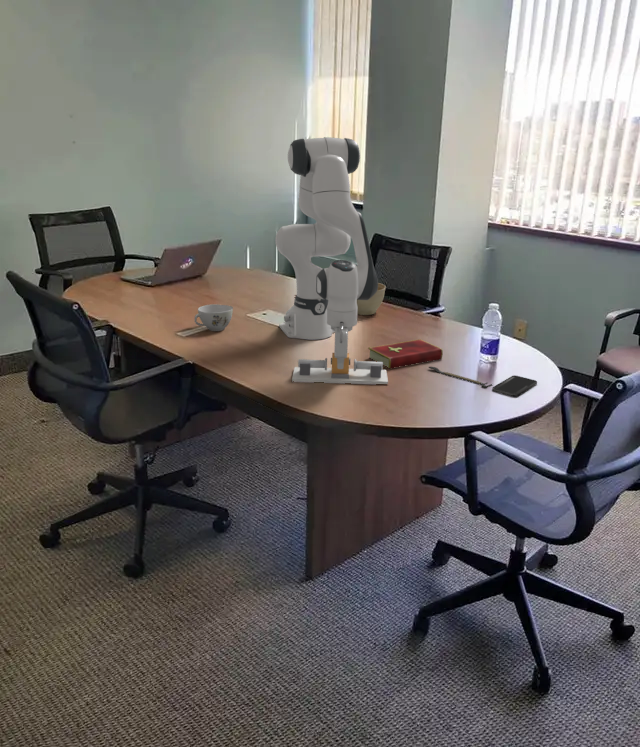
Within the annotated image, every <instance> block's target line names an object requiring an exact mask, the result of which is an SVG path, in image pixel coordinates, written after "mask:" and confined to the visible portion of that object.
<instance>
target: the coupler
mask: <svg viewBox="0 0 640 747" xmlns="http://www.w3.org/2000/svg"><path fill="white" fill-rule="evenodd" d="M330 365H331V368H332V373H335V374H349V369H350V366H351V358H350V352H347V358H344V368H343V369H338V368H337V358H335V356H334V352H332V355H331V358H330Z"/></svg>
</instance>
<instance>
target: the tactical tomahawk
mask: <svg viewBox="0 0 640 747" xmlns="http://www.w3.org/2000/svg"><path fill="white" fill-rule="evenodd" d="M428 369H431V370H433V371H435V372H436V373H437V374H440V373H441V375H444V374H445V376H447V375H448V376H447V377H451V376H453V377H452V378H454V377H456V378H455V379H458V378H459V379H458V380H462V379H463V380H462V381H465V380H467V381H466V382H469V381H470V382H469V383H472V382H473V384H477V385H479V384H480V385H479V386H481V388H483V389H487V388H490V387H493V385H492V384H493V383H490V384H488V382H485V383H483V382H481V381H479V380H475V379H472V378H469V377H465V376H461V375H458V374H454V373H451V372H448V371H447V372H445V371H441V370H440V369H439V368H438V367H435V366H428ZM485 384H486V385H485ZM487 384H488V385H487Z"/></svg>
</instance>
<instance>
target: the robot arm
mask: <svg viewBox="0 0 640 747" xmlns="http://www.w3.org/2000/svg"><path fill="white" fill-rule="evenodd" d="M360 161H361V151H360V147H359V144H358V143H357V141H356V140H354V139H351V138H348V137H344V138H339V137H329V136H327V137H326V136H324V137H315V138H314V137H313V138H306V139H304V138H298V139H294V140H293V141H291V143H290V145H289V148H288V152H287V162H288V165H289V168H290V170H291V171H292V172H293V173H294V174H295V175H298V176H300V178H299V192H298V193H299V194H298V206H299V209H300V211H301V212H302V213H303V214H304V215H306V217H309V218H310V219H313V220H315V223H294V224H293V223H292V224H289V225H283V226H281V227H280V228H279V229H278V230H277V232H276V234H275V241H274V243H275V246H276V249H277V250H278V251H277V252H279V253H280V255H282V256H284V257H285V258H286V259H287V261H288V262H289V263H290V264H291V267H292V268H293V270H294V274H295V279H296V280H295V281H296V294H294V295H293V296H294V301H293V302H294V303H293V306H291V307H290V308H289V309H287V311H286V312H285V315H284V316H283V321H284V322H281V323H279V326H278V327H279V328H280V329H281V331H282V332H283V333H284V334H285V336H287V338H290V339H301V340H310V341H311V340H313V341H314V340H322V339H323V340H324V339H328V338H330V337H331V336H332V335H333V333H334V352H333V353H334V356H335V358H337V368H338V369H343V368H344V358H347V353H348V346H349V345H348V344H349V338H348V337H349V332H351V331H353V327H355V326H357V324H358V314H357V310H358V307H357V302H356V301H357V300H369V299H370V298H371V297H372V296H373V295H374V294H375V293H376V292H377V290H378V283H379V281H378V280H379V279H378V276H377V273H376V272H377V271H376V269H375V266H374V262H373V257H372V251H371V246H370V243H369V242H370V241H369V236H368V232H367V229H366V224H365V221H364V218H363V216H362V213H361V212H359V211H358V210H356V208H355V206H354V204H353V201H352V197H351V187H350V177H349V176H350V174H352V173H355V172H356V170H358V168H359V165H360V163H361V162H360ZM351 241H352V243H353V250H354V255H355V260H356V263H355V262H353V261H351V260H350V261H349V260H345V259H338V260H334V261H332V262H330V265H329V267H325V268H322V267H321V266H318V265H316V264H314V263H313V262H312V258H314V257H315V258H317V257H318V258H320V257H321V258H322V257H336V256H341V255H345V254H346V253H347V252H348V251H349V249H350V246H351ZM356 264H357V265H356Z"/></svg>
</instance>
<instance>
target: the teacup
mask: <svg viewBox="0 0 640 747" xmlns="http://www.w3.org/2000/svg"><path fill="white" fill-rule="evenodd" d="M233 309H234V307H233V306H232V305H227V304H214V303H213V304H206V305H203V306H199V307H198V308H197V314H195V316H194V323H195V325H198V326H199V327H205V328H207V329H208V330H209V331H211V332H220V331H224V330H225V328H226V327H228V325H229V324H230V322H231V320H232V316H233ZM198 318H199V320H200V322H201V323H199V322H198V321H197V320H198Z"/></svg>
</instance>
